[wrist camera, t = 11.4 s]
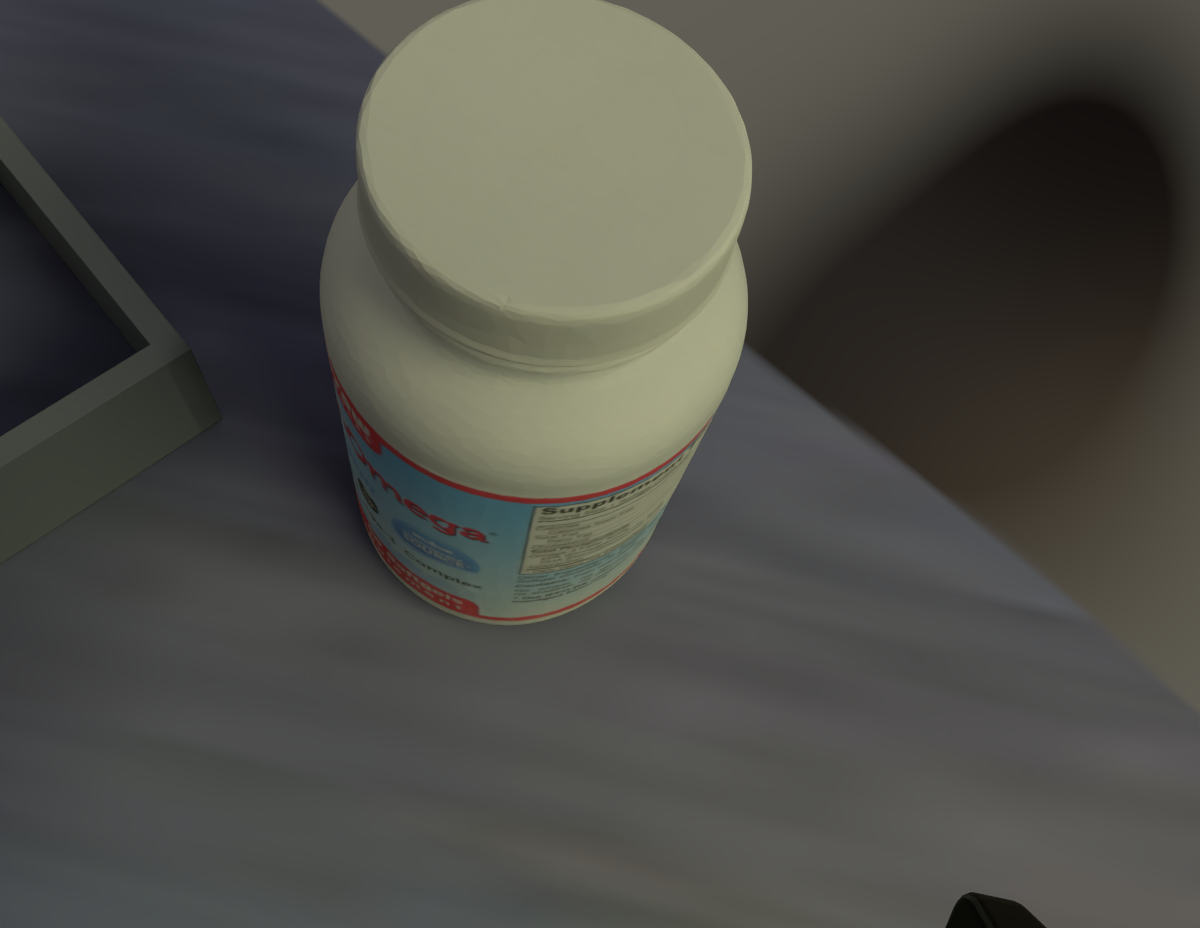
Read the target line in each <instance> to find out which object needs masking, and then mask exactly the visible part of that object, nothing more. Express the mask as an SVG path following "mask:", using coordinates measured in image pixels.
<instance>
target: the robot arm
mask: <svg viewBox="0 0 1200 928" xmlns="http://www.w3.org/2000/svg"><path fill="white" fill-rule="evenodd" d="M946 928H1046V927H1045V926H1044V925H1043V924H1042V923H1041V922H1040V921H1039V920H1038V919H1037V918H1036V917H1035V916H1033V915H1032V914H1031V913H1030V912H1029V911H1028V910H1027V909H1026V908H1025V907H1024V906H1022V905H1021V904H1019V903H1017V902H1015V901H1012V900H1008V899H1003V898H998V897H993V896H989V895H984V894H979V893H974V892H970V893H968V894H965V895H963V896H962V897H961V898H960V899H959V900H958V901H957V903H956V905H955V906H954V908H953V911H952V913H951V915H950V918H949V920H948V923H947V925H946Z"/></svg>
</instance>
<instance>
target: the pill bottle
mask: <svg viewBox="0 0 1200 928" xmlns="http://www.w3.org/2000/svg"><path fill="white" fill-rule="evenodd" d="M356 168H357V175H358V180H357V181H356V183H355V184H354V185H353V187H352V188H351V190H350V191H349V193H348V194H347V196H346V198H345V199H344V201H343V202H342V204H341V206H340V208H339V210H338V212H337V215H336V217H335V219H334V221H333V224H332V226H331V229H330V232H329V235H328V238H327V242H326V246H325V251H324V255H323V260H322V266H321V273H320V309H321V317H322V324H323V331H324V338H325V343H326V348H327V353H328V358H329V363H330V368H331V372H332V377H333V381H334V387H335V393H336V397H337V404H338V406H339V411H340V416H341V421H342V426H343V431H344V436H345V441H346V446H347V450H348V456H349V460H350V465H351V470H352V475H353V480H354V485H355V490H356V495H357V500H358V504H359V507H360V511H361V515H362V518H363V521H364V524H365V527H366V530H367V532H368V535H369V537H370V539H371V541H372V543H373V545H374V547H375V549H376V551H377V552H378V554H379V556H380V557H381V559H382V560H383V562H384V563H385V564H386V566H387V567H388V568H389V569H390V571H391V572H392V573H393V574H394V575H395V576H396V577H397V578H398V579H399V580H400V581H401V582H402V583H403V584H404V585H405V586H406V587H407V588H408V589H410V590H411V591H412V592H413V593H415V594H416V595H417V596H419V597H420V598H422V599H423V600H425V601H427V602H428V603H430V604H431V605H433V606H435V607H437V608H439V609H441V610H443V611H445V612H447V613H450V614H453V615H455V616H458V617H460V618H463V619H467V620H471V621H475V622H481V623H487V624H494V625H519V624H528V623H533V622H539V621H544V620H547V619H550V618H553V617H557V616H560V615H563V614H565V613H567V612H569V611H572V610H574V609H576V608H578V607H580V606H582V605H584V604H585V603H587V602H589V601H591V600H592V599H594V598H595V597H597V596H598V595H599V594H601V593H602V592H604V591H605V590H606V589H608V588H609V587H610V586H612V585H613V584H614V583H615V582H616V581H617V580H618V579H619V578H620V577H621V576H622V575H623V574H624V573H625V572H626V571H627V570H628V569H629V568H630V567H631V565H632V564H633V563H634V562H635V560H636V559H637V558H638V556H639V555H640V553H641V552H642V550H643V549H644V547H645V546H646V544H647V542H648V540H649V538H650V537H651V535H652V533H653V531H654V529H655V527H656V525H657V523H658V521H659V519H660V517H661V515H662V514H663V511H664V509H665V507H666V505H667V504H668V502H669V500H670V498H671V496H672V494H673V492H674V490H675V488H676V487H677V485H678V483H679V481H680V479H681V477H682V476H683V473H684V471H685V469H686V467H687V466H688V464H689V462H690V460H691V458H692V456H693V454H694V452H695V450H696V448H697V447H698V445H699V443H700V441H701V439H702V437H703V435H704V433H705V431H706V429H707V428H708V426H709V424H710V422H711V420H712V418H713V416H714V414H715V412H716V410H717V408H718V406H719V404H720V403H721V401H722V399H723V397H724V395H725V393H726V391H727V389H728V387H729V384H730V381H731V379H732V376H733V374H734V372H735V369H736V367H737V364H738V361H739V358H740V354H741V350H742V346H743V342H744V337H745V332H746V326H747V313H748V295H747V282H746V276H745V270H744V265H743V261H742V256H741V252H740V249H739V246H738V243H737V238H738V235H739V233H740V230H741V228H742V225H743V222H744V218H745V215H746V212H747V208H748V205H749V199H750V193H751V179H752V158H751V150H750V145H749V141H748V137H747V133H746V129H745V125H744V122H743V120H742V118H741V115H740V113H739V111H738V109H737V106H736V104H735V101H734V99H733V97H732V96H731V94H730V92H729V91H728V89H727V88H726V87H725V85H724V84H723V83H722V81H721V80H720V78H719V77H718V76H717V75H716V73H715V72H714V71H713V70H712V68H711V67H710V66H709V65H708V64H707V63H706V62H705V61H704V60H703V59H702V58H701V57H700V56H699V55H698V54H697V53H696V52H695V51H694V50H693V49H692V48H691V47H689V46H688V45H687V44H685V43H684V42H683V41H682V40H681V39H679V38H678V37H677V36H676V35H674V34H673V33H671V32H670V31H668V30H667V29H665V28H664V27H662V26H660V25H658V24H657V23H655V22H653V21H652V20H650V19H648V18H646V17H644V16H642V15H640V14H637V13H635V12H633V11H631V10H629V9H627V8H623V7H621V6H618V5H615V4H612V3H609V2H606V1H602V0H472V1H468V2H466V3H463V4H461V5H458V6H456V7H453V8H451V9H448V10H446V11H444V12H442V13H440V14H438V15H436V16H434V17H433V18H431V19H430V20H428V21H427V22H425V23H424V24H422V25H420V26H419V27H417V28H416V29H415V30H413V31H412V32H411V33H410V34H408V35H407V36H406V37H405V38H403V39H402V40H401V41H400V42H399V43H398V44H397V46H396V47H395V48H394V49H393V50H392V51H391V52H390V53H389V54H388V55H387V56H386V58H385V59H384V61H383V62H382V63H381V65H380V66H379V68H378V69H377V71H376V72H375V74H374V76H373V77H372V79H371V81H370V83H369V86H368V88H367V90H366V92H365V95H364V99H363V102H362V105H361V108H360V112H359V116H358V121H357V128H356Z"/></svg>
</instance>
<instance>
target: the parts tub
mask: <svg viewBox="0 0 1200 928" xmlns="http://www.w3.org/2000/svg"><path fill="white" fill-rule="evenodd" d="M0 183H1V184H2V185H3V187H4V188H5V189H6V190H7V192H8V193H9V194H10V195H11V196H12V198H13V199H14V200H15V201H16V203H17V204H18V205H19V206H20V208H21V209H22V210H23V211H24V213H25V214H26V215H27V216H28V218H29V219H30V220H31V221H32V223H33V224H34V225H35V226H36V228H37V229H38V230H39V231H40V233H41V234H42V235H43V236H44V238H45V239H46V240H47V241H48V243H49V244H50V245H51V246H52V248H53V249H54V250H55V251H56V253H57V254H58V255H59V256H60V258H61V259H62V260H63V261H64V263H65V264H66V265H67V266H68V268H69V269H70V270H71V271H72V272H73V274H74V275H75V276H76V277H77V279H78V280H79V281H80V282H81V284H82V285H83V286H84V287H85V289H86V290H87V291H88V292H89V294H90V295H91V296H92V297H93V299H94V300H95V301H96V302H97V304H98V305H99V306H100V307H101V309H102V310H103V311H104V312H105V314H106V315H107V316H108V317H109V319H110V320H111V321H112V322H113V324H114V325H115V326H116V327H117V329H118V330H119V331H120V332H121V334H122V335H123V336H124V337H125V339H126V340H127V341H128V342H129V344H130V345H131V346H132V347H133V348H134V350H135V351H136V352H137V353H136V354H134V355H133V356H131V357H129V358H128V359H126V360H124V361H123V362H121V363H120V364H118V365H116V366H115V367H113V368H111V369H110V370H108V371H106V372H105V373H103V374H102V375H100V376H98V377H97V378H95V379H93V380H92V381H90V382H89V383H87V384H85V385H84V386H82V387H80V388H79V389H77V390H76V391H74V392H72V393H71V394H69V395H67V396H66V397H64V398H62V399H61V400H59V401H58V402H56V403H54V404H53V405H51V406H49V407H48V408H46V409H45V410H43V411H41V412H40V413H38V414H36V415H35V416H33V417H31V418H30V419H28V420H27V421H25V422H23V423H22V424H20V425H18V426H17V427H15V428H14V429H12V430H10V431H9V432H7V433H5V434H4V435H2V436H1V437H0V564H1V563H2V562H4V561H5V560H7V559H8V558H10V557H11V556H13V555H14V554H16V553H17V552H19V551H20V550H22V549H24V548H25V547H27V546H28V545H30V544H31V543H33V542H34V541H36V540H37V539H39V538H40V537H42V536H43V535H45V534H46V533H48V532H50V531H51V530H53V529H54V528H56V527H57V526H59V525H60V524H62V523H63V522H65V521H66V520H68V519H69V518H71V517H72V516H74V515H76V514H77V513H79V512H80V511H82V510H83V509H85V508H86V507H88V506H89V505H91V504H92V503H94V502H95V501H97V500H98V499H100V498H102V497H103V496H105V495H106V494H108V493H109V492H111V491H112V490H114V489H115V488H117V487H118V486H120V485H121V484H123V483H125V482H126V481H128V480H129V479H131V478H132V477H134V476H135V475H137V474H138V473H140V472H141V471H143V470H144V469H146V468H147V467H149V466H151V465H152V464H154V463H155V462H157V461H158V460H160V459H161V458H163V457H164V456H166V455H167V454H169V453H170V452H172V451H173V450H175V449H177V448H178V447H180V446H181V445H183V444H184V443H186V442H187V441H189V440H190V439H192V438H193V437H195V436H196V435H198V434H199V433H201V432H203V431H204V430H206V429H207V428H209V427H210V426H212V425H213V424H215V423H216V422H218V421H219V420H221V419H222V417H221V415H220V413H219V411H218V408H217V406H216V404H215V402H214V399H213V397H212V395H211V393H210V391H209V388H208V386H207V384H206V382H205V380H204V377H203V375H202V373H201V371H200V369H199V366H198V364H197V362H196V360H195V357H194V355H193V353H192V351H191V349H190V348H189V346H188V345H187V344H186V343H185V341H184V340H183V339H182V338H181V337H180V335H179V334H178V333H177V332H176V330H175V329H174V328H173V327H172V326H171V324H170V323H169V322H168V321H167V319H166V318H165V317H164V316H163V315H162V313H161V312H160V311H159V310H158V308H157V307H156V306H155V305H154V304H153V302H152V301H151V300H150V299H149V297H148V296H147V295H146V294H145V293H144V291H143V290H142V289H141V288H140V286H139V285H138V284H137V283H136V282H135V280H134V279H133V278H132V277H131V275H130V274H129V273H128V272H127V271H126V269H125V268H124V267H123V266H122V264H121V263H120V262H119V261H118V260H117V258H116V257H115V256H114V255H113V253H112V252H111V251H110V250H109V249H108V247H107V246H106V245H105V244H104V242H103V241H102V240H101V239H100V238H99V236H98V235H97V234H96V233H95V231H94V230H93V229H92V228H91V227H90V225H89V224H88V223H87V222H86V220H85V219H84V218H83V217H82V216H81V214H80V213H79V212H78V211H77V209H76V208H75V207H74V206H73V205H72V203H71V202H70V201H69V200H68V198H67V197H66V196H65V195H64V194H63V192H62V191H61V190H60V189H59V187H58V186H57V185H56V184H55V183H54V181H53V180H52V179H51V178H50V176H49V175H48V174H47V173H46V172H45V170H44V169H43V168H42V167H41V165H40V164H39V163H38V162H37V161H36V159H35V158H34V157H33V156H32V154H31V153H30V152H29V151H28V150H27V148H26V147H25V146H24V145H23V143H22V142H21V141H20V140H19V139H18V137H17V136H16V135H15V134H14V132H13V131H12V130H11V129H10V128H9V126H8V125H7V124H6V123H5V121H4V120H3V119H2V118H1V117H0Z"/></svg>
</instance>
